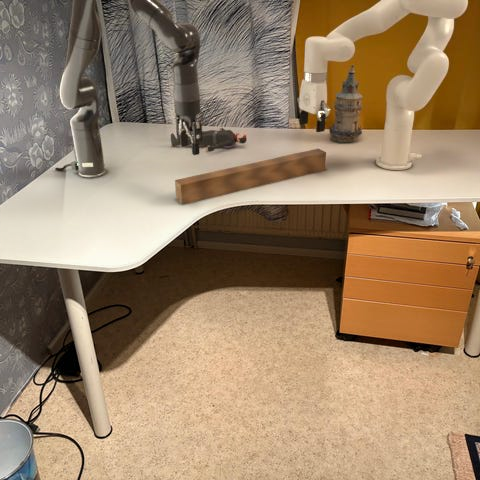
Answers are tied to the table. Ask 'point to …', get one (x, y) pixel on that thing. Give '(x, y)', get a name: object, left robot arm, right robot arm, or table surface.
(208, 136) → the toy
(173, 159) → the table surface
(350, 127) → the miniature building
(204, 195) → the post
